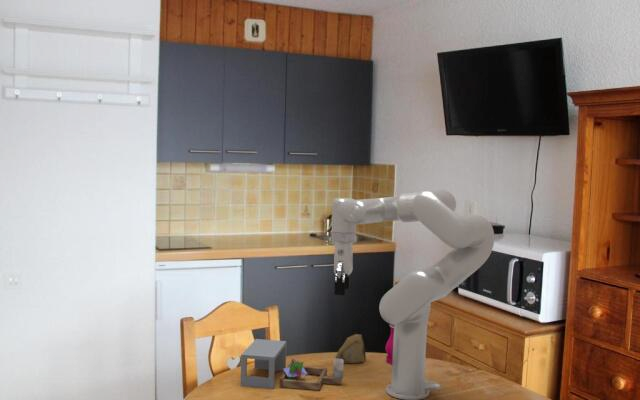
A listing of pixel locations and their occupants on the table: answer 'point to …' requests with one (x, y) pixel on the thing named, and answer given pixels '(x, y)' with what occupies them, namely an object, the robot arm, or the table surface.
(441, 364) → the table surface
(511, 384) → the table surface
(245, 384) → the open box
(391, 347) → the pepper mill
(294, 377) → the geometric puzzle
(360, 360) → the rock
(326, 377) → the brown open frame
